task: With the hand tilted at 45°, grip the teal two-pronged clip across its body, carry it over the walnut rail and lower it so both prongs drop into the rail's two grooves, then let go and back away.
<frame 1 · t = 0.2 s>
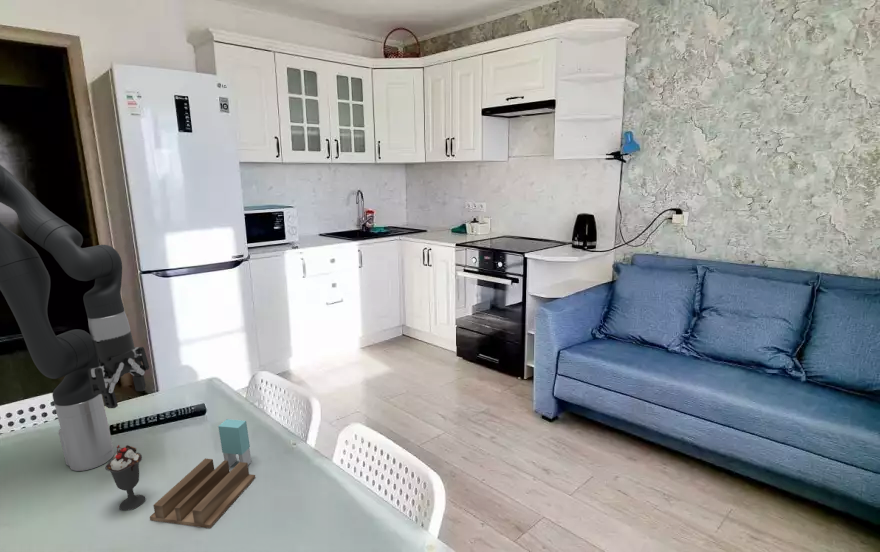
hand: (127, 398, 115), 18 cm above the table, tool pointing down, fingers open, 8 cm apart
rail: (205, 497, 107), on the table
sundae: (132, 503, 106), on the table
clip: (238, 464, 118), on the table
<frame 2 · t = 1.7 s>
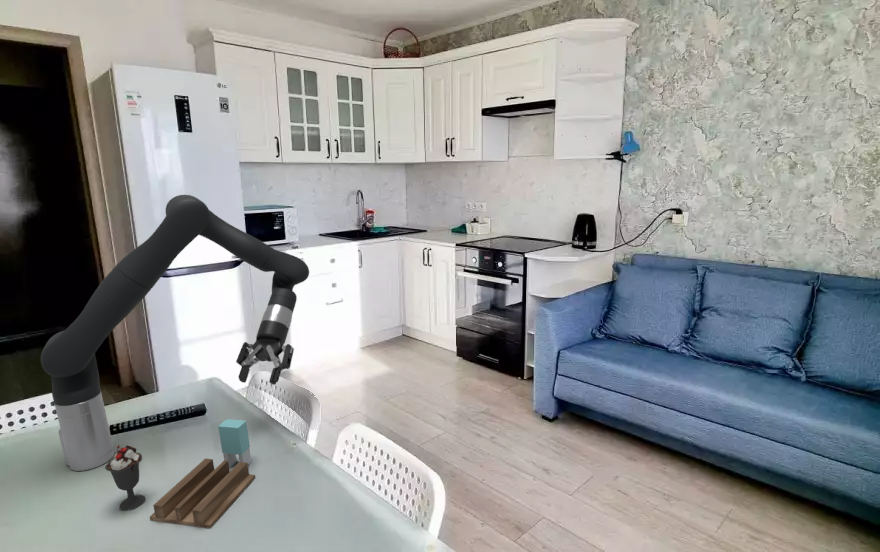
hand: (257, 382, 125), 16 cm above the table, tool tilted 45°, fingers open, 8 cm apart
nothing on the table moved.
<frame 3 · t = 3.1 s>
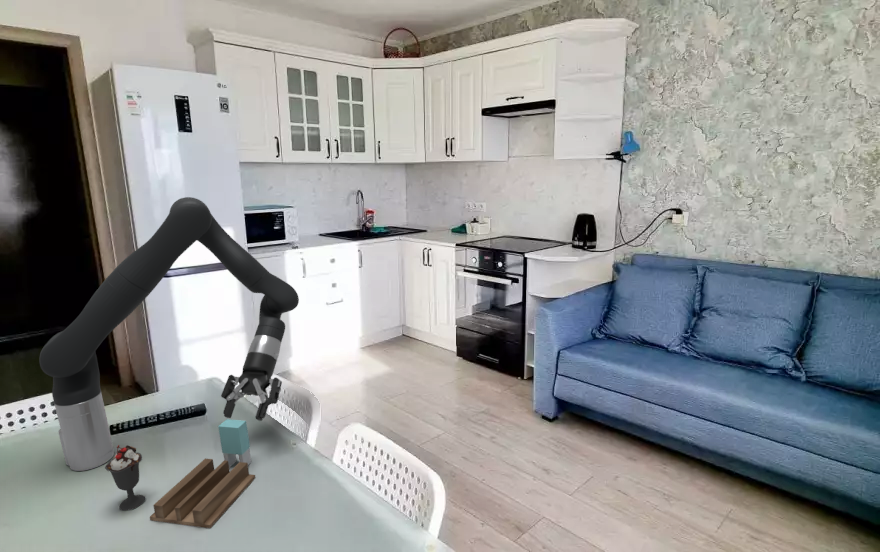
hand: (242, 418, 120), 10 cm above the table, tool tilted 45°, fingers open, 8 cm apart
nothing on the table moved.
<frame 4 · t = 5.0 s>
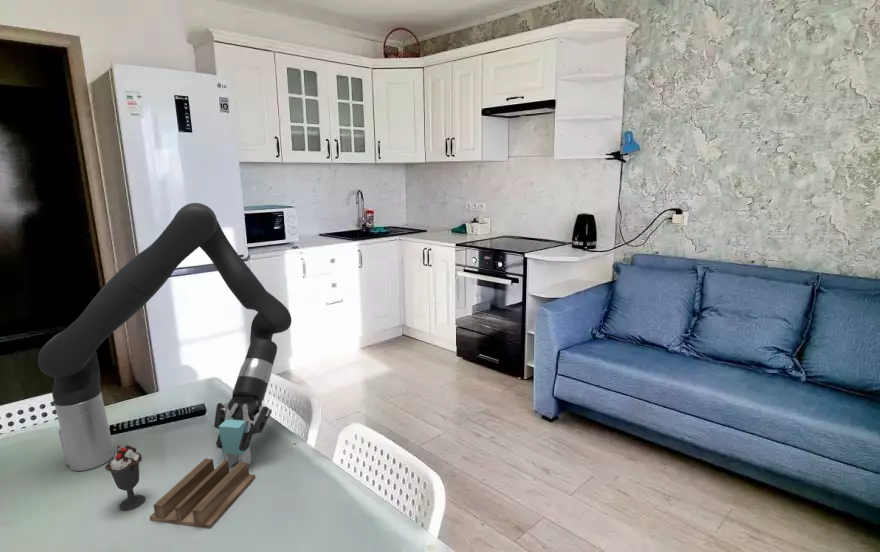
hand: (231, 449, 115), 5 cm above the table, tool tilted 45°, fingers closed on clip, 5 cm apart
clip: (238, 464, 118), on the table, touching gripper
everything else where it was.
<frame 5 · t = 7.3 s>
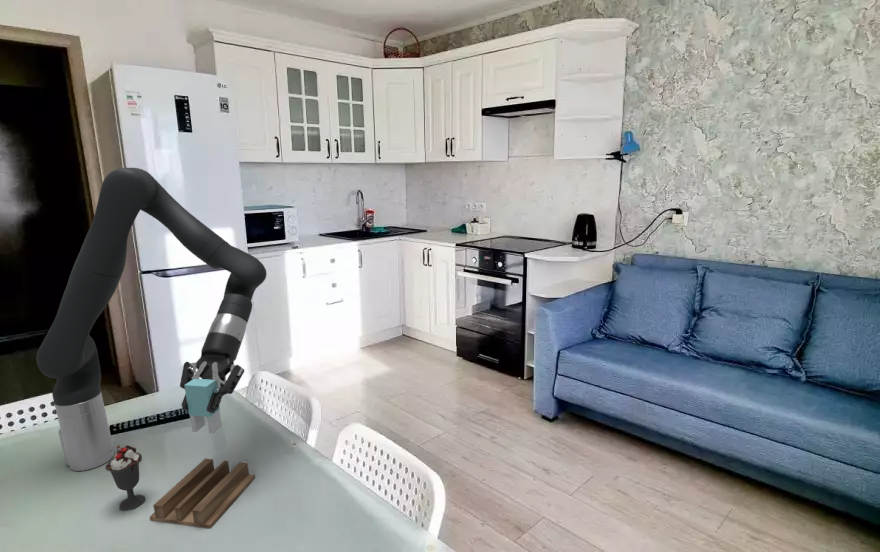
hand: (198, 410, 104), 20 cm above the table, tool tilted 45°, fingers closed on clip, 5 cm apart
clip: (207, 428, 107), point 14 cm above the table, touching gripper
everything else where it was.
when the fingers open (7 cm above the table, at t = 9.9 s): clip stays where it is, resting on rail.
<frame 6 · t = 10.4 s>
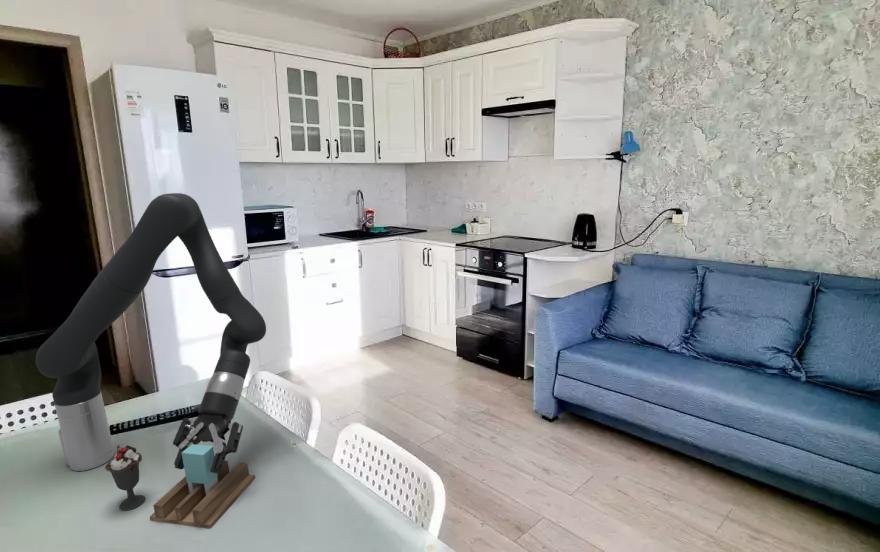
hand: (196, 470, 104), 8 cm above the table, tool tilted 45°, fingers open, 8 cm apart
clip: (205, 494, 107), point 1 cm above the table, touching rail
everything else where it was.
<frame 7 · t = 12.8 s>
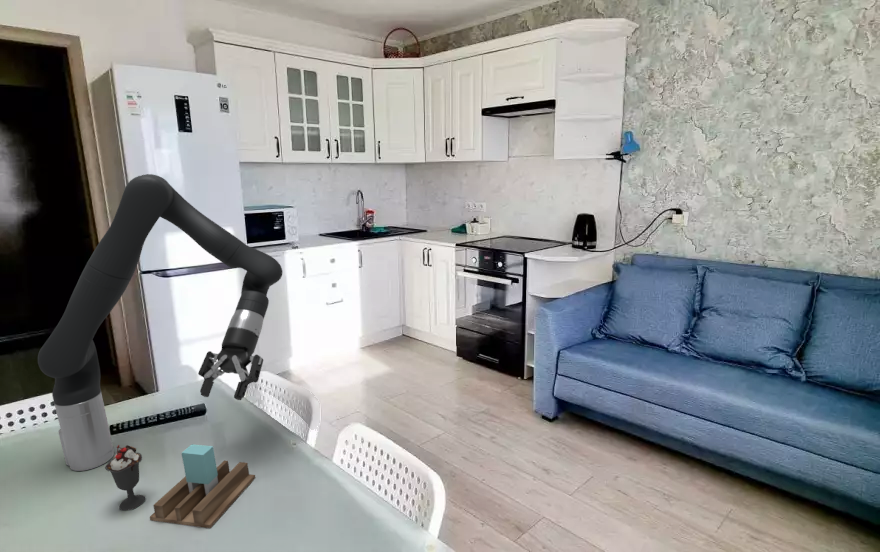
hand: (220, 397, 112), 19 cm above the table, tool tilted 45°, fingers open, 8 cm apart
nothing on the table moved.
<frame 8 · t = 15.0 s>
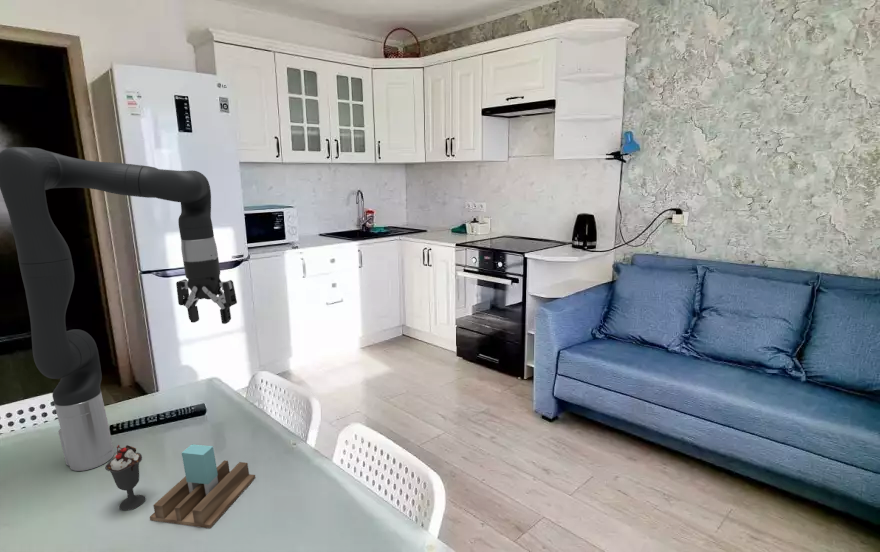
hand: (210, 322, 120), 33 cm above the table, tool pointing down, fingers open, 8 cm apart
nothing on the table moved.
at the end: clip inside the target area on the rail (0.1 cm from its centre), point 0.8 cm above the rail's base; clip tilted 0°; the gripper is holding nothing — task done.
